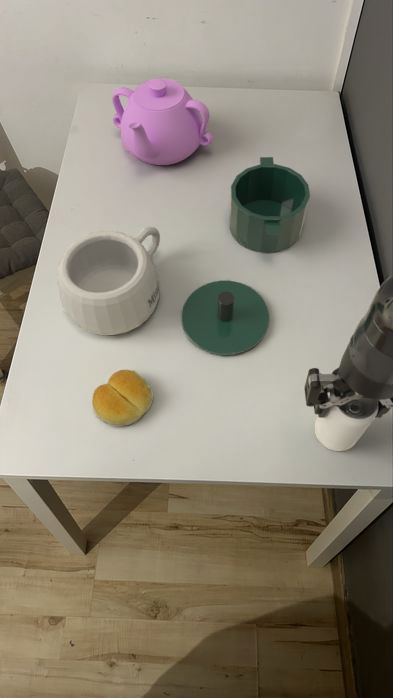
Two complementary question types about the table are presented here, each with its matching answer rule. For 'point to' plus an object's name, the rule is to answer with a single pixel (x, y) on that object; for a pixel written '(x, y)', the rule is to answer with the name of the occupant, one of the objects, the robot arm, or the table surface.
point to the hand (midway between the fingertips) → (348, 411)
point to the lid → (225, 317)
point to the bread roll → (122, 398)
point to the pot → (268, 207)
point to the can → (345, 423)
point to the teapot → (161, 122)
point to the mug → (109, 281)
